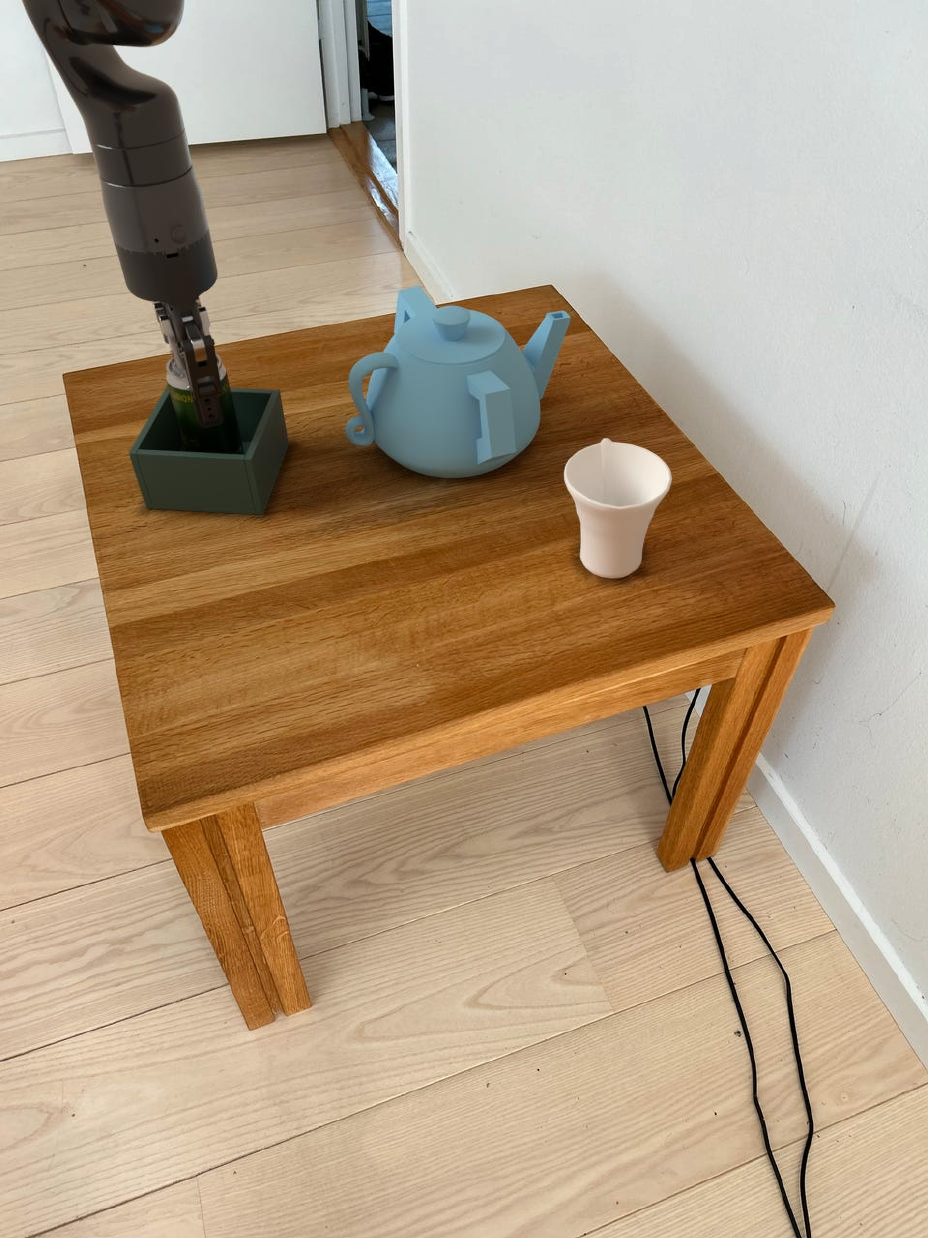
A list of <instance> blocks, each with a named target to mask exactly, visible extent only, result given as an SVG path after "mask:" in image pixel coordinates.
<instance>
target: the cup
mask: <svg viewBox="0 0 928 1238" xmlns="http://www.w3.org/2000/svg"><path fill="white" fill-rule="evenodd" d="M563 478H564V479H563V480H564V483H565V487H566V489H567V491H568V492H569V494H570V495H571V497H572V499H573V501H574V503H575V510H576V514H577V516H578V519H579V523H580V524H579V525H580V526H579V527H580V549H579V559H580V561H581V563H582V565H583V567H584V568H585V569H587V570H588V571H589V572H590V573H591V574H593V575H595V576H598V577H601V578H603V579H604V578H605V579H611V580H612V579H621V578H626V577H627V576H630V575H631V574H633V573H634V572H635V571H636V570H638V569H639V567H640V566H641V564H642V562H643V561H642V559H643V549H644V548H643V547H644V542H645V538H646V534H647V533H648V528H649V525H650V523H651V521H652V519H653V518H654V514H655V511H656V509H657V508H658V506H659V504H660V503H661V502H662V500H664V498H665V497H666V496H667V494H668V492H669V491H670V489H671V485H672V481H673V477H672V471H671V469H670V467H669V465H668V464H667V463H666V461H665V460H663V458H662V457H660V456H659V455H657V454H656V453H654V452H652V451H650V450H649V449H647V448H645V447H642V446H638V445H635V444H632V443H625V442H617V441H616V442H615V441H612V440H611V439H610V438H608V437H606V438H603V439H602V440H601V441H600V442H598V443H595V444H592V445H589V446H586V447H584V448H582V449H580V450H578V451H577V452H576V453H574V454H573V455H572V456H571V457H570V458H569V459H568V461H567V462H566V463H565V467H564V471H563Z"/></svg>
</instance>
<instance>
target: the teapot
mask: <svg viewBox="0 0 928 1238" xmlns="http://www.w3.org/2000/svg"><path fill="white" fill-rule="evenodd" d="M395 309H396V310H395V317H394V318H395V319H394V328H393V333H394V334H393V336H392V337H391V339H390V340H389V342H388V343H387V344H386V346H385V348H384V350H383V351H381V352H380V351H379V352H373V353H370V354H367V355H365V356H364V357H361V358H360V359H359V360H357V361H356V363H354V365H353V366H352V368H351V370H350V372H349V375H348V388H349V393H350V396H351V399H352V401H353V404H354V406H355V407H356V410H357V413H358V414H359V416H353V417H351V418H350V419H349V420H348V421H347V422H346V425H345V427H344V428H345V429H344V434H345V437H346V439H347V441H348V442H349V443H350V444H352V445H355V446H358V447H367V446H370V445H371V444H373V443H375V444H376V445H377V448H379V449H380V450H381V451H382V452H383V453H385V454H386V455H387V456H388V457H390V459H392V460H394V461H395V462H396V463H398V464H399V465H401V466H402V467H404V468H406V469H408V470H410V471H412V472H415V473H418V474H421V475H424V476H427V477H433V478H441V479H460V478H461V479H463V478H469V477H470V478H471V477H476V476H478V475H479V476H480V475H483V474H487V473H490V472H492V471H494V470H496V469H499V468H501V467H503V466H504V465H506V464H507V463H508V462H510V461H512V460H513V459H514V458H515V457H517V456H519V454H520V453H522V452H523V451H524V450H525V449H526V448H527V447H528V446H529V445H530V444H531V443H532V441H533V440H534V438H535V436H536V434H537V432H538V430H539V427H540V423H541V400H542V399H543V397H544V395H545V392H546V389H547V386H548V384H549V381H550V378H551V375H552V373H553V370H554V367H555V364H556V362H557V359H558V356H559V353H560V351H561V348H562V345H563V342H564V340H565V337H566V335H567V331H568V328H569V326H570V323H571V319H572V318H571V315H570V314H568V313H567V312H566V310H558V311H552V312H551V311H550V312H546V313H545V318H544V319H543V320H542V322H540V324H539V326H538V327H537V329H536V330H535V332H534V333H533V334H532V336H531V338H529V340H528V341H527V343H526V344H525V346H524V347H523V349H522V350H521V349H520V347H519V346H518V344H517V343H516V341H515V340H514V338H513V336H512V335H511V334H510V333H509V332H508V330H507V329H506V328H505V327H504V325H503V324H502V323H501V322H500V321H498V320H496V319H495V318H494V317H492V316H491V315H489V314H486V313H483V312H481V311H477V310H473V309H467V308H465V307H463V306H459V305H445V306H441V307H438V308H437V306H436V305H435V303H434V302H433V301H432V299H431V298H430V297H429V296H428V294H427V293H426V291H425V290H424V289H423V287H422V286H421V284H418V285H413V286H411V287H406V288H403V289H402V288H401V289H399V290H398V291H397V299H396V308H395ZM370 373H372V374H371V376H370V379H369V383H368V388H367V393H366V397H365V396H364V393H363V380H364V379H365V378H366V377H367V376H368V375H369V374H370ZM358 427H363V429H362V430H360V431H356V429H357V428H358Z"/></svg>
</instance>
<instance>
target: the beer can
mask: <svg viewBox="0 0 928 1238" xmlns="http://www.w3.org/2000/svg"><path fill="white" fill-rule="evenodd" d="M180 355H181V357H184V355H183V352H182V353H180ZM216 359H217V364H218V370H219V375H220V381H221V383H222V386H223V388H222V393H219V394H218V397H219V402H220V406H221V410H222V415H223V423H222V424H220V425H217V426H213V427H209V428H201V427H200V425H199V423H198V420H197V416H196V412H195V408H194V404H193V400H192V396H191V393H190V391H189V392H188V389H187V386H188V384H187V381H186V377H185V374H184V371H183V369H180V368H179V367H178V366H177V365H176V364H175V361H174V357H173V356H172V357H171V358H169V360H168V361H167V363H166V365H165V369H166V376H165V380H166V385H168V388H169V391H170V395H171V399H172V403H173V406H174V410H175V414H176V418H177V421H178V425H179V429H180V432H181V436H182V440H183V444H184V447H185V451H186V452H200V453H220V454H239V455H244V450H243V445H242V441H241V436H240V431H239V427H238V422H237V417H236V413H235V408H234V403H233V398H232V394H231V389H230V388H231V385H230V381H229V375H228V370H227V367H226V366H225V364H224V363H223V359H222V358H221V356H220V354H218V353H216ZM206 377H208V376H206ZM202 378H203V377H202Z"/></svg>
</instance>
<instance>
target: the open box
mask: <svg viewBox="0 0 928 1238" xmlns="http://www.w3.org/2000/svg"><path fill="white" fill-rule="evenodd" d="M230 389H231V394H232V398H233V403H234V408H235V413H236V417H237V422H238V427H239V431H240V436H241V441H242V445H243V450H244V455H239V454H220V453H200V452H186V451H185V447H184V444H183V440H182V436H181V432H180V429H179V425H178V421H177V418H176V414H175V410H174V406H173V403H172V399H171V395H170V391H169V388H168V384H166V386H165V388H164V390H163V391H162V393H161V394H160V397H159V399H158V400H157V402H156V404H155V406H154V408H153V409H152V411H151V412H150V415H149V416H148V417H147V419H146V421H145V423H144V425H143V427H142V429H141V431H140V432H139V434H138V436H137V438H136V439H135V441H134V443H133V444H132V446H131V448H130V451H129V452H128V455H129V459H130V462H131V465H132V468H133V471H134V474H135V477H136V480H137V483H138V487H139V489H140V492H141V493H140V494H141V495H142V499H143V502H144V504H145V508H146V509H148V510H166V511H185V512H205V513H222V514H236V515H237V514H239V515H257V516H264V513H265V511H266V508H267V505H268V503H269V499H270V497H271V494H272V492H273V490H274V486H275V484H276V481H277V478H278V476H279V472H280V470H281V468H282V465H283V463H284V459H285V456H286V454H287V451H288V448H289V446H290V441H289V435H288V429H287V424H286V417H285V412H284V406H283V400H282V394H281V390H280V389H268V388H265V389H264V388H245V387H230Z"/></svg>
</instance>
